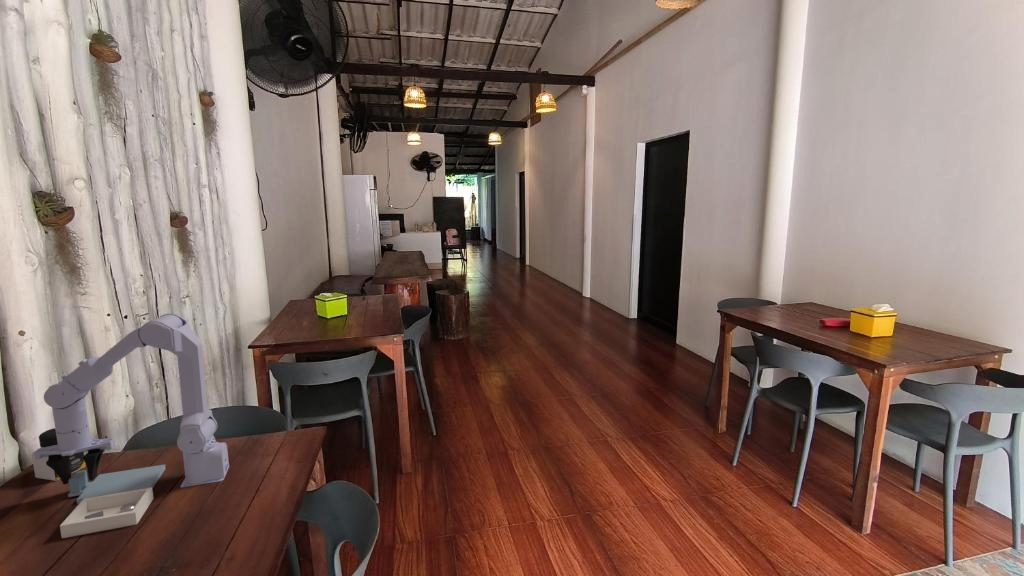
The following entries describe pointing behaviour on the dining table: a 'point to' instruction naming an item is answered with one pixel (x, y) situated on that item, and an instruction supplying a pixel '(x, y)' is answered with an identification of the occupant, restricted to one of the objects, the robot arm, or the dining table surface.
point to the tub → (106, 512)
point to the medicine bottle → (40, 465)
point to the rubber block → (94, 515)
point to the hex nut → (127, 507)
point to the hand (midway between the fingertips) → (80, 480)
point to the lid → (113, 482)
